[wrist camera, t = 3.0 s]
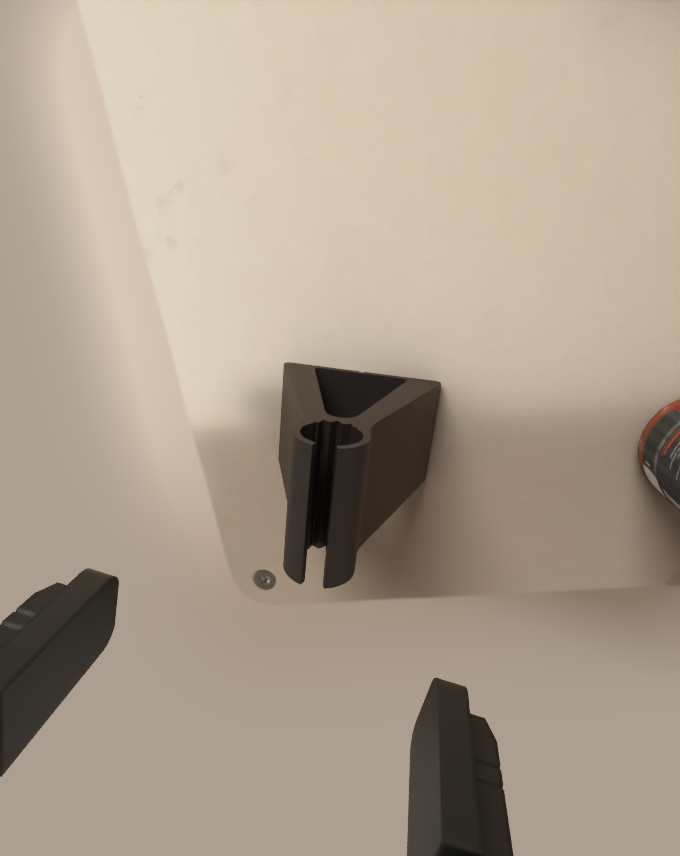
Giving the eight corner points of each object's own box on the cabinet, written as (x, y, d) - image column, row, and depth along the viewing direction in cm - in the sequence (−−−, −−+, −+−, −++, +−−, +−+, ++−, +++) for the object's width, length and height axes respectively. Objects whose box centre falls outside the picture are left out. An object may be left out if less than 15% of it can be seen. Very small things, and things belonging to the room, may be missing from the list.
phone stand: (441, 381, 29) (454, 465, 18) (424, 478, 31) (426, 607, 20) (286, 361, 30) (203, 427, 19) (279, 455, 32) (202, 567, 21)
